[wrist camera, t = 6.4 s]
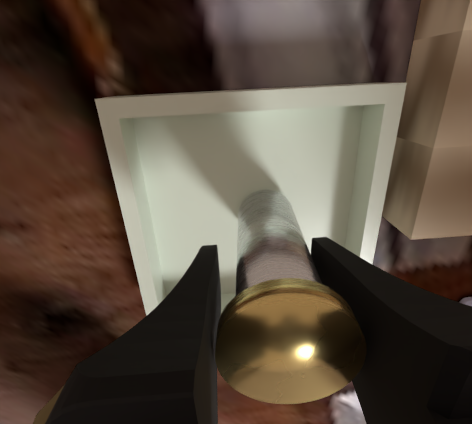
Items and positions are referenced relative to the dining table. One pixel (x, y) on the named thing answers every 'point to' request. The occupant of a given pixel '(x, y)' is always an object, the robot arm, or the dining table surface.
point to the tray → (246, 169)
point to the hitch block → (435, 128)
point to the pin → (283, 314)
